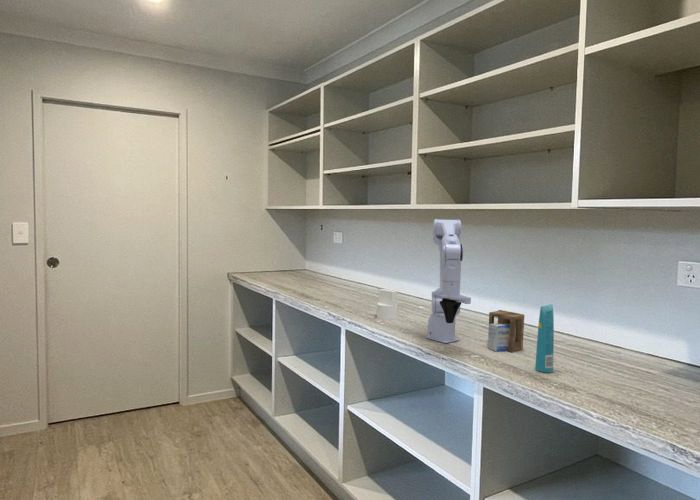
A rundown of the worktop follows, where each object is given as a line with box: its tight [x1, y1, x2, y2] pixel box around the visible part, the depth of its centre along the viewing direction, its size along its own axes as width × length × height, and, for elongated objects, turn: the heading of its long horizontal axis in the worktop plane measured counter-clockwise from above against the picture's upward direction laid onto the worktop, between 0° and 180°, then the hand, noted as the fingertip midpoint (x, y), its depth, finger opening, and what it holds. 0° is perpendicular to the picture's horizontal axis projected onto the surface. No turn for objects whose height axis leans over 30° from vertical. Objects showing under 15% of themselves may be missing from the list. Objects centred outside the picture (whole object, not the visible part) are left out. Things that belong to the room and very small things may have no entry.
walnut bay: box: [487, 309, 525, 353], centre depth 166 cm, size 9×6×12 cm
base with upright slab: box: [376, 288, 399, 321], centre depth 212 cm, size 9×9×12 cm
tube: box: [534, 303, 555, 373], centre depth 142 cm, size 7×5×19 cm, turn 139°
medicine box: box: [487, 322, 516, 353], centre depth 165 cm, size 8×4×9 cm, turn 112°
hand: (449, 322), depth 158 cm, fingers closed
